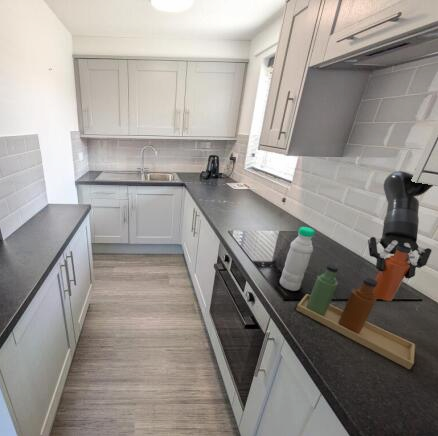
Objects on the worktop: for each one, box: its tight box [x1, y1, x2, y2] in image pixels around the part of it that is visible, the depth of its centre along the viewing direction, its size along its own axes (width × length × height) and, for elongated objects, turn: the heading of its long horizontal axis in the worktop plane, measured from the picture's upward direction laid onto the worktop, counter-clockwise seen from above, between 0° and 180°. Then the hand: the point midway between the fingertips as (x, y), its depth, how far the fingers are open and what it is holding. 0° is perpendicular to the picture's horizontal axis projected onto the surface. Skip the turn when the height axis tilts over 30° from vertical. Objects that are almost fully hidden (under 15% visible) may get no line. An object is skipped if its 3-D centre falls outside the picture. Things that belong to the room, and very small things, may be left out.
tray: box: [295, 293, 416, 370], centre depth 72 cm, size 27×9×2 cm, turn 41°
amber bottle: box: [338, 277, 377, 334], centre depth 69 cm, size 5×5×18 cm
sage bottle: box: [307, 263, 339, 316], centre depth 75 cm, size 5×5×18 cm
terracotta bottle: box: [373, 245, 411, 302], centre depth 71 cm, size 5×5×18 cm
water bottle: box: [279, 226, 315, 292], centre depth 87 cm, size 7×7×25 cm
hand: (394, 273), depth 70 cm, fingers closed on terracotta bottle, 5 cm apart
